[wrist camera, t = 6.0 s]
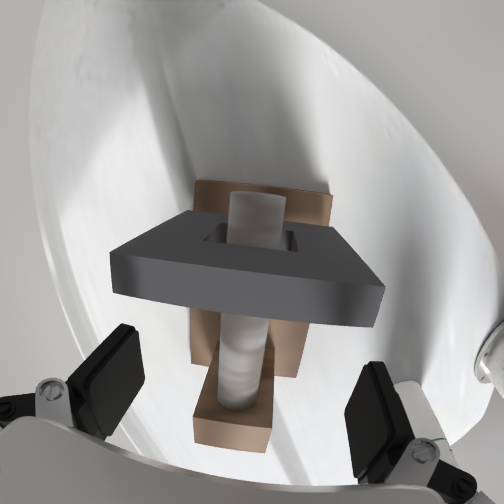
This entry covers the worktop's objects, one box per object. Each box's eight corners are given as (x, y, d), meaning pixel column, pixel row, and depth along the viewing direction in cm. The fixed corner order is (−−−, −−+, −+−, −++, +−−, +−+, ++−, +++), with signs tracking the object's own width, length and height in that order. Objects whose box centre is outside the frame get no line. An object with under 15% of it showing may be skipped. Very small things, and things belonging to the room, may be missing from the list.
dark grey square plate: (333, 227, 22) (385, 286, 11) (329, 250, 23) (373, 327, 11) (187, 210, 23) (109, 252, 11) (186, 233, 23) (113, 292, 12)
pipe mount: (330, 194, 24) (374, 217, 13) (295, 370, 30) (299, 455, 19) (199, 179, 25) (139, 191, 13) (193, 357, 31) (161, 434, 19)
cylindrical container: (387, 420, 32) (423, 558, 9) (366, 402, 31) (404, 565, 7) (426, 394, 31) (483, 529, 7) (410, 372, 29) (478, 532, 6)
